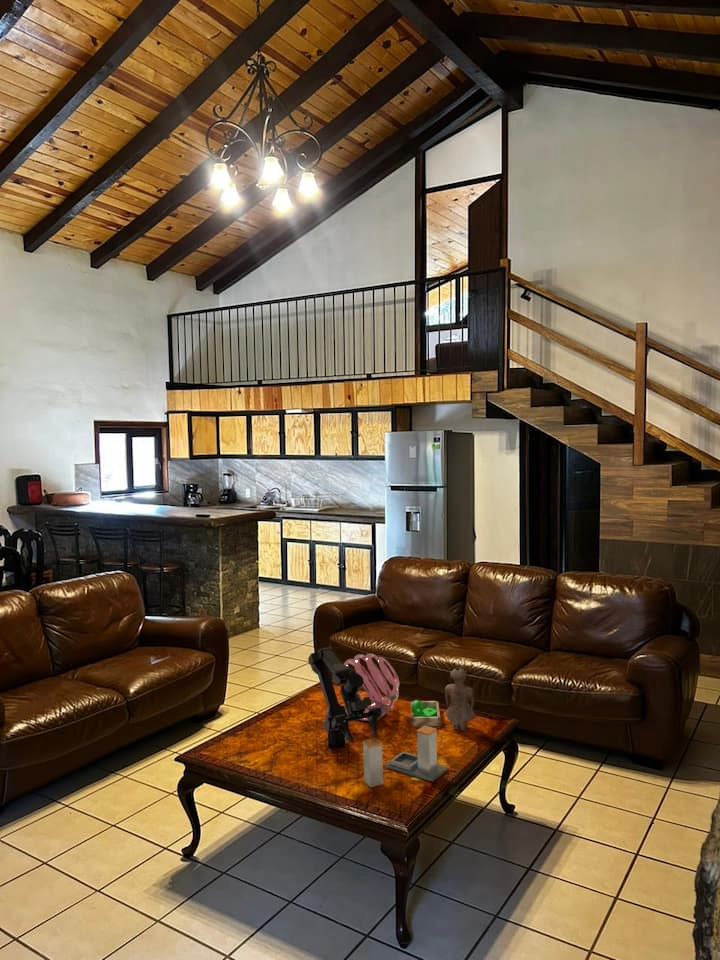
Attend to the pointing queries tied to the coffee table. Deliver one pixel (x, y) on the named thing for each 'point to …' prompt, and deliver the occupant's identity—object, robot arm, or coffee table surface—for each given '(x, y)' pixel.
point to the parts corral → (427, 720)
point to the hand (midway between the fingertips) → (364, 740)
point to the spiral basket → (379, 680)
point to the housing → (420, 757)
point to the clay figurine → (459, 700)
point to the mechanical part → (419, 712)
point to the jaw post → (373, 762)
